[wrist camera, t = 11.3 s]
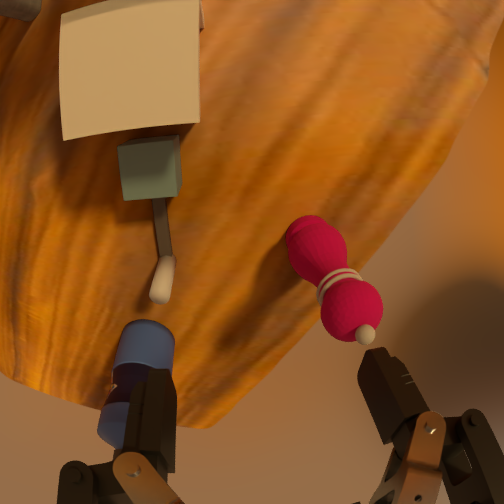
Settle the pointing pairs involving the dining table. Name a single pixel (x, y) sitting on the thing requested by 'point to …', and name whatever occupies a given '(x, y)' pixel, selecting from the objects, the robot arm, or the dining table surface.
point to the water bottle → (133, 374)
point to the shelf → (129, 65)
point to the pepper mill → (334, 280)
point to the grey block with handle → (154, 195)
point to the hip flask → (20, 9)
